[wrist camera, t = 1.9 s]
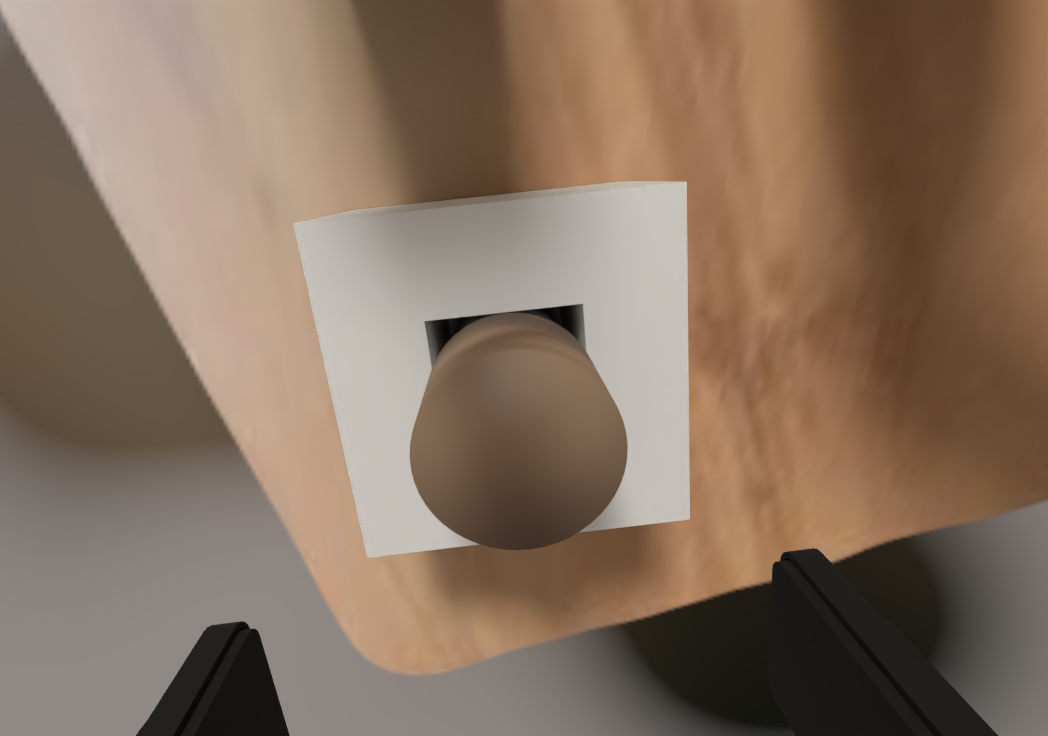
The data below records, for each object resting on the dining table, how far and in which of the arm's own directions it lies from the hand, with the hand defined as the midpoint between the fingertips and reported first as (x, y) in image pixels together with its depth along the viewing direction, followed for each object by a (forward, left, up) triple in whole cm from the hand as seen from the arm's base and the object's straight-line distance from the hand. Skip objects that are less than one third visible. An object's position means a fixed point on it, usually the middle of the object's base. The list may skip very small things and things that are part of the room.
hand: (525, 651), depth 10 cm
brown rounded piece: (0, 0, -22) cm, 22 cm away
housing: (0, 0, -23) cm, 23 cm away
